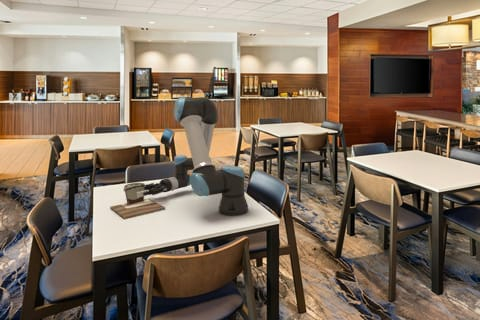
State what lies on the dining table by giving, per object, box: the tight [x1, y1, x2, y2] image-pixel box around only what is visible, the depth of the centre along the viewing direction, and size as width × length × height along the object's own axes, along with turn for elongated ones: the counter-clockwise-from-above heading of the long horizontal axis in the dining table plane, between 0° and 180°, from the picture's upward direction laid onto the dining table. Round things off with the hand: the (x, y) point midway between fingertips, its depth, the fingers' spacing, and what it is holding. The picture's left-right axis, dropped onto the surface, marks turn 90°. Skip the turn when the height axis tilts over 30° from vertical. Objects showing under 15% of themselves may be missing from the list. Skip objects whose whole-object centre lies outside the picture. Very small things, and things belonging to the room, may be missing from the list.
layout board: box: [109, 198, 166, 220], centre depth 190 cm, size 20×22×1 cm
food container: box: [123, 182, 146, 205], centre depth 196 cm, size 12×6×10 cm, turn 137°
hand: (133, 193), depth 192 cm, fingers open, 7 cm apart
